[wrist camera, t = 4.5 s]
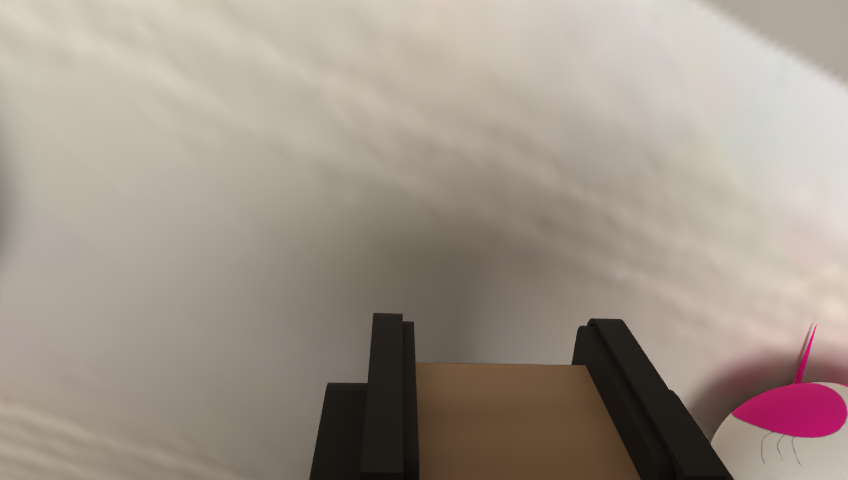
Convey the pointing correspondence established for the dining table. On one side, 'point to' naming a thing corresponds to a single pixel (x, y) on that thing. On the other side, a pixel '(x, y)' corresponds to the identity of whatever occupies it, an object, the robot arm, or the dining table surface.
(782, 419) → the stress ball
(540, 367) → the shaft
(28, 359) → the dining table surface
